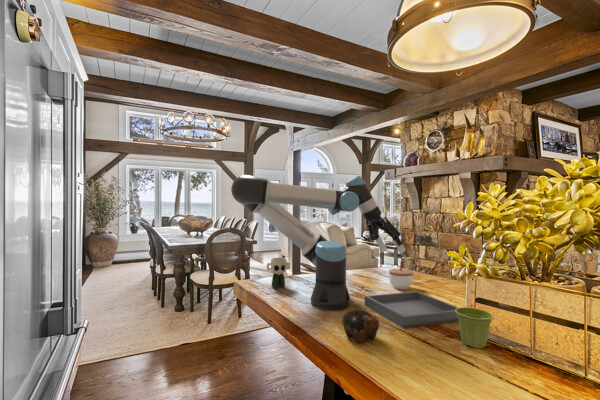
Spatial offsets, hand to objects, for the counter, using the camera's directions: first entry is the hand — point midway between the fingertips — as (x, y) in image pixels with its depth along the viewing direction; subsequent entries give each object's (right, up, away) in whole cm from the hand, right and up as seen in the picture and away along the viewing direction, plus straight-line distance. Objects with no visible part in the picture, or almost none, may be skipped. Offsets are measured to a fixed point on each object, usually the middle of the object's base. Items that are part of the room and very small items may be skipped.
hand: (393, 251), depth 141 cm
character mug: (-51, -18, +7) cm, 54 cm away
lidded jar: (+6, -18, +8) cm, 21 cm away
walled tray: (-1, -18, -26) cm, 31 cm away
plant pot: (+7, -18, -51) cm, 55 cm away
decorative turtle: (-24, -17, -48) cm, 56 cm away
